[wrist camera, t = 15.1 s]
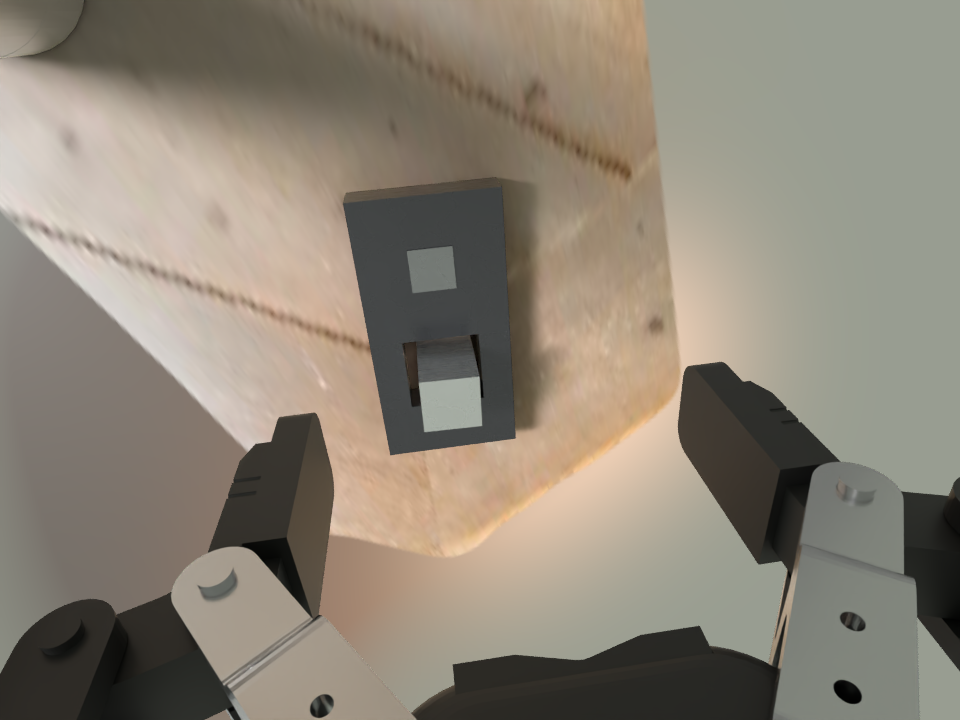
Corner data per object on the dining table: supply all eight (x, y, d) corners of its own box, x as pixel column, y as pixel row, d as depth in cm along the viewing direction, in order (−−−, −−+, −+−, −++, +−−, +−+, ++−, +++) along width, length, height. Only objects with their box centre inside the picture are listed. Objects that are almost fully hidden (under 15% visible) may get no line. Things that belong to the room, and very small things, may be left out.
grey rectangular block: (420, 379, 48) (424, 432, 42) (415, 334, 46) (418, 382, 40) (471, 374, 48) (482, 425, 42) (468, 329, 46) (479, 376, 40)
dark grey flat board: (390, 436, 50) (390, 455, 48) (346, 193, 40) (342, 203, 38) (510, 420, 50) (515, 439, 48) (496, 177, 40) (502, 187, 38)
